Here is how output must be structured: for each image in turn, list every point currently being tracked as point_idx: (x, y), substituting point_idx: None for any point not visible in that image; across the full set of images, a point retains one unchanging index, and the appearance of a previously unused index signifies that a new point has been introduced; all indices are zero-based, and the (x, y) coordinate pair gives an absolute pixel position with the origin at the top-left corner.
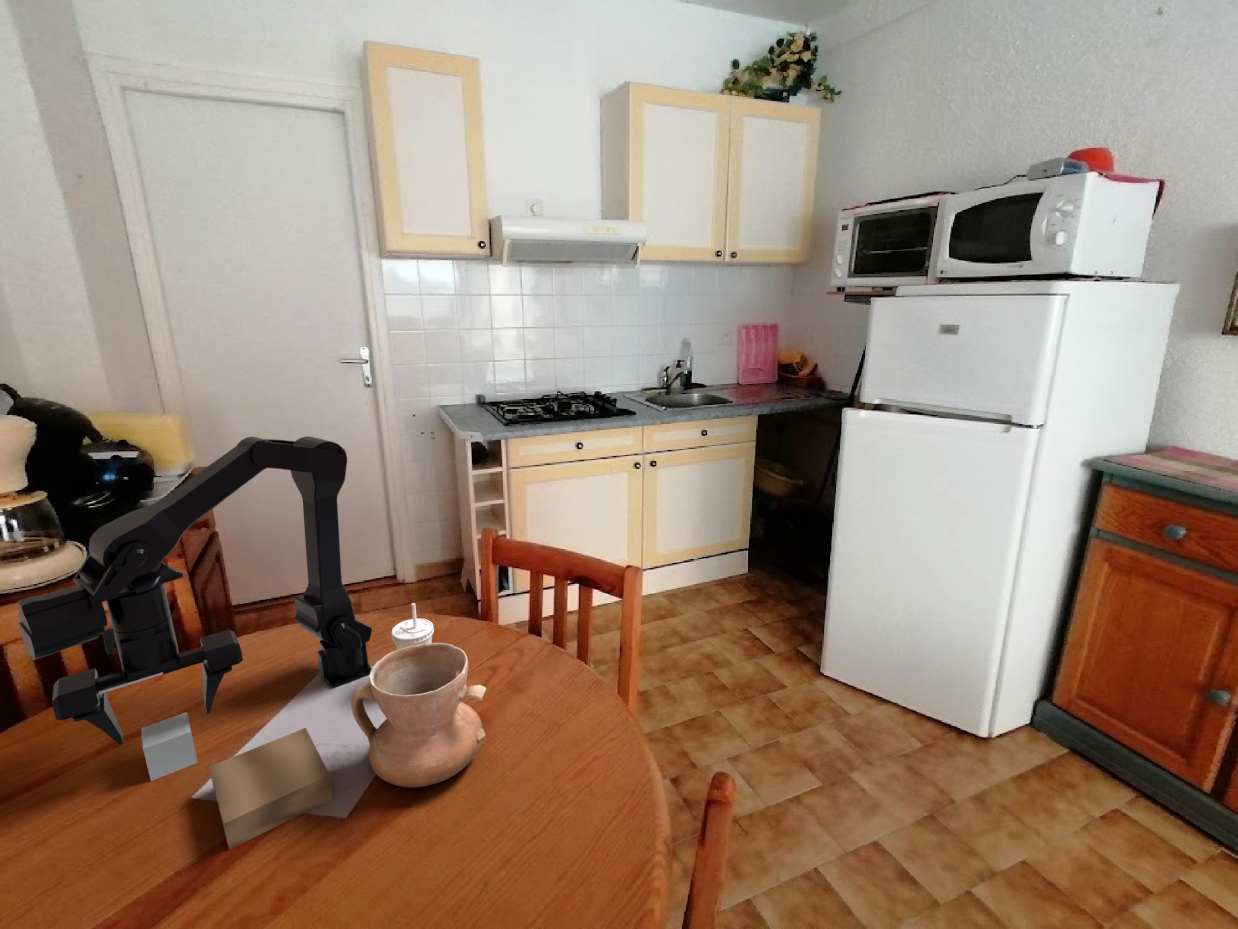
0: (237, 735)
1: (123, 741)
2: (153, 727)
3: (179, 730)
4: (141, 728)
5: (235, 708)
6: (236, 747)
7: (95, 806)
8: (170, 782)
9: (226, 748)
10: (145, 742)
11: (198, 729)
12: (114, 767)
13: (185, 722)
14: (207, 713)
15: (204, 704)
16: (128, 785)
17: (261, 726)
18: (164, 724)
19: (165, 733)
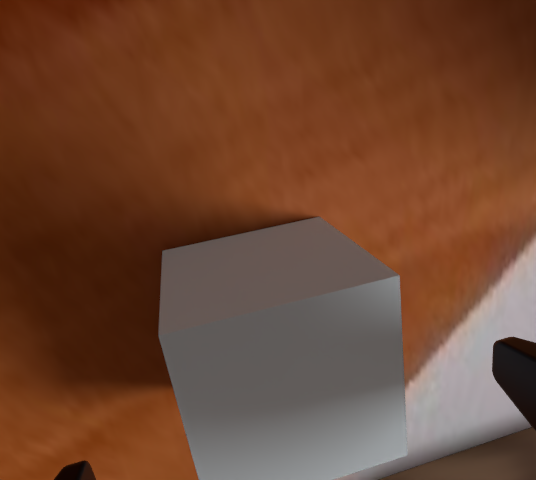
0: (456, 250)
1: (94, 476)
2: (233, 360)
3: (361, 432)
4: (163, 343)
5: (481, 34)
6: (444, 318)
7: (35, 447)
8: None
9: (417, 310)
10: (213, 478)
11: (337, 127)
12: (27, 245)
13: (388, 375)
14: (501, 386)
15: (527, 358)
16: (123, 380)
17: (528, 234)
18: (289, 351)
19: (301, 437)
